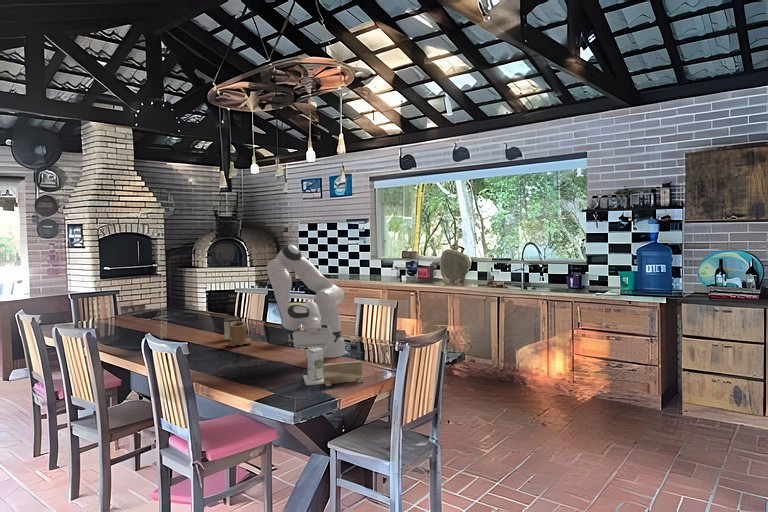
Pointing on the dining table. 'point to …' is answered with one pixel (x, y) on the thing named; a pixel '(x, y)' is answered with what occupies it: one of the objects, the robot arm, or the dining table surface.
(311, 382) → the display pad
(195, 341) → the dining table surface
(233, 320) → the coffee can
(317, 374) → the syrup box
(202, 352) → the dining table surface
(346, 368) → the birch screen
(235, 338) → the stone cup
